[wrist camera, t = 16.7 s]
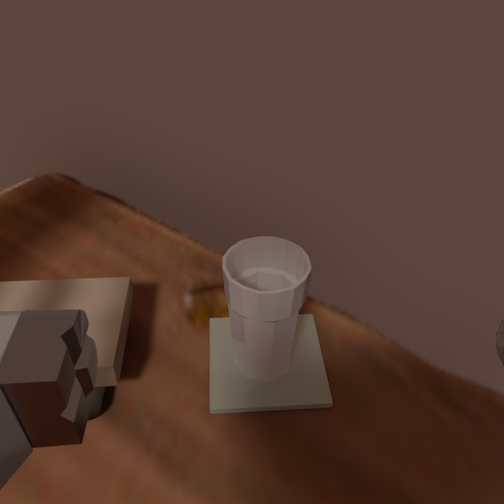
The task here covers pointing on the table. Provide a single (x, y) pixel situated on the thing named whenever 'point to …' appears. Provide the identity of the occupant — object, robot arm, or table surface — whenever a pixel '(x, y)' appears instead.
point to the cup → (264, 302)
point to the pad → (263, 392)
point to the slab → (97, 311)
